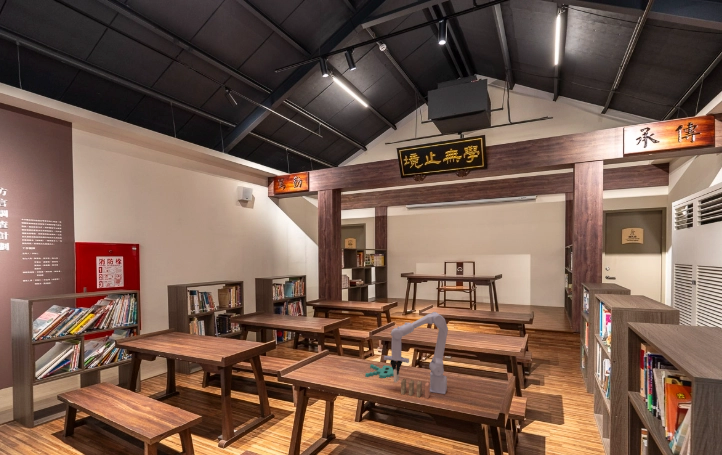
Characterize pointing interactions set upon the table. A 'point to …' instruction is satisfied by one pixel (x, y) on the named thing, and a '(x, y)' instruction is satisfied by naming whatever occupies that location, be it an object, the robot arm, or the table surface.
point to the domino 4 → (427, 390)
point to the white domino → (396, 377)
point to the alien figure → (381, 371)
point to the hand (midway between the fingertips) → (396, 373)
